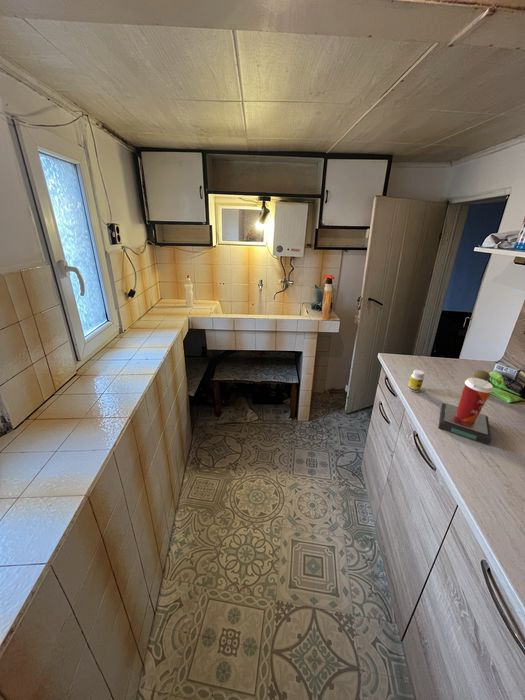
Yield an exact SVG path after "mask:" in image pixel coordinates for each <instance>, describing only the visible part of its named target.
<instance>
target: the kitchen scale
mask: <svg viewBox="0 0 525 700" xmlns="http://www.w3.org/2000/svg"><path fill="white" fill-rule="evenodd" d="M457 409H458V406H457V405H454V404H451V403H447V402H446V403H445V402H442V403H441V407H440V411H439V419H438V426H437V427H438V429H440V430H442V431H445V432H448V433H452V434H455V435H457V436H460V437H463V438H466V439H469V440H472V441H475V442H478V443H480V444H483V445H486V446H489V445H490V443H491V441H492V437H491V436H492V435H491V429H490V421H489V416H488V415H486V414H484V413H481V412H480V413H479V415H478V417H477V418H476V420H475V422H472V423H469V422H465V421H463V420H461V419H459V418H458V417H457V416H456V412H457Z"/></svg>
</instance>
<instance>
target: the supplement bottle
mask: <svg viewBox="0 0 525 700" xmlns="http://www.w3.org/2000/svg"><path fill="white" fill-rule="evenodd" d="M424 379H425V372H424V371H423V370H420V369H414V370H413V372H412V374H411V375H410V378H409V381H408V385H407V389H408V390H409V391H411V392H414V393H419V392H420V391H421V389H422V386H423V381H424Z"/></svg>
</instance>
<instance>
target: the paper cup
mask: <svg viewBox="0 0 525 700" xmlns="http://www.w3.org/2000/svg"><path fill="white" fill-rule="evenodd" d="M493 391H494V386H493V384H492V383H491V382H489V381H485V380H482V379H479V378H474V377H468V378H467V379H466V380H465V381H464V387H463V390H462V393H461V396H460V400H459V402H458V406H457V407H458V409H457V412H456V416H457V417H458V418H459V419H461V420H463V421H465V422H469V423H472V422H475V420H476V418H477V417H478V415H479V413H480V414H481V411H482V409H483V408H484V406H485V404H486V402H487V401H488V398H489V397H490V394H491V393H493Z"/></svg>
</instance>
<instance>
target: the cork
mask: <svg viewBox="0 0 525 700" xmlns="http://www.w3.org/2000/svg"><path fill="white" fill-rule="evenodd" d="M473 378H479V379H482V380H485V381H487V382H489V380H490V378H491V374H490V373H489V372H488V371H486V370H481V369H477V370H475V371H474V373H473Z"/></svg>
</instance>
